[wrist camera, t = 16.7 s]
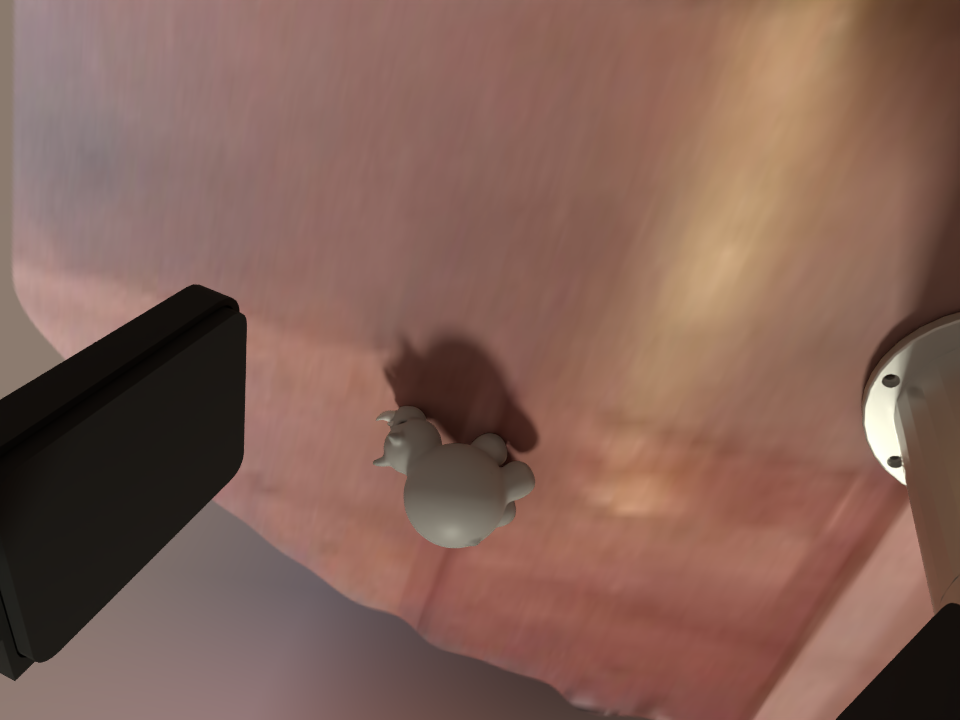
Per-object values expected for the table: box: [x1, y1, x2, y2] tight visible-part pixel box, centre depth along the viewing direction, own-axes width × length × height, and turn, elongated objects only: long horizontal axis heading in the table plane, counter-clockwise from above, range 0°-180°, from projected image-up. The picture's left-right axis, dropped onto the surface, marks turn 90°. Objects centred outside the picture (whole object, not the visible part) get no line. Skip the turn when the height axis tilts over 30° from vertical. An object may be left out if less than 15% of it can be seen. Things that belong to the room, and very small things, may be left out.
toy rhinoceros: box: [373, 406, 535, 548], centre depth 51 cm, size 7×12×8 cm, turn 64°
